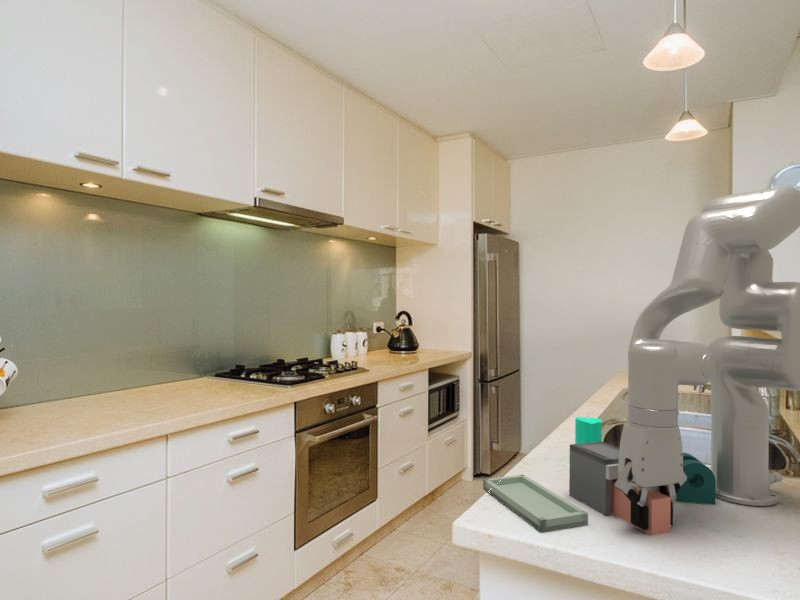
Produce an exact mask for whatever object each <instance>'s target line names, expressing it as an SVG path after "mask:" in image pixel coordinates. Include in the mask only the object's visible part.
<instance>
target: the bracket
mask: <svg viewBox="0 0 800 600" xmlns="http://www.w3.org/2000/svg"><path fill="white" fill-rule="evenodd" d="M683 471H684V473H685V474H686V476H687V480H686V481H685V482H684V483H683V484H682V486H680V489H679V491H678V492H677V494H676V500H675V501H674V502H675V503H688V504H690V503H691V504H700V505H701V504H703V505H716V502H717V501H716V498H717V497H716V480H715V476H714V474H713V472H712V471H711V468H709V467H708V466H707V465H706V464H704V463H703V462H701V461H700V460H699V459H698V458H696V456H694V455H692V454H690V453H687V452H683ZM664 487H665V486H664ZM651 489H653V490H655V491H657V487H651ZM657 492H658V491H657ZM674 502H673V503H674Z"/></svg>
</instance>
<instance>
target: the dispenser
mask: <svg viewBox="0 0 800 600" xmlns="http://www.w3.org/2000/svg"><path fill="white" fill-rule="evenodd" d="M619 449H620V447H617V446H614V445H612V444H610V443H607V442H604V441H601V442H591V443H581V444H575V443H574V444H573V443H572V444H569V481H568V482H569V491H568V492H569V496H571V497H572V498H573V499H576V500H577V501H579V502H581V503H582V504H584V505H586V506H587V507H589V508H591V509H592V510H594V511H596V512H598V513H600V514H601V515H603V516H605V517H607V516H612V515H613V514H612V479H618V478H619V476H618V462H619Z"/></svg>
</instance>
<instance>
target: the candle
mask: <svg viewBox="0 0 800 600" xmlns="http://www.w3.org/2000/svg"><path fill="white" fill-rule="evenodd" d="M574 421H575V424H574V425H575V428H574V429H575V431H574V432H575V433H574V434H575V437H574V438H575V440H574V442H575V443H574V444H581V443H591V442H601V441H602V438H603V437H602V436H603V435H602V434H603V431H602V429H603V428H602V427H603V423H602V422H603V421H602V419H601V418H598V417H597V418H596V417H590V412H588V413H587V417H583V416H582V417H581V416H575V420H574ZM602 442H603V441H602Z"/></svg>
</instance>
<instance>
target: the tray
mask: <svg viewBox="0 0 800 600" xmlns="http://www.w3.org/2000/svg"><path fill="white" fill-rule="evenodd" d="M502 478H503V479H502ZM482 480H483V481H482V484H483V485H482V489H483V490H484V491H485V492H486V493H487V494H489V495H491V496H492V497H493V498H494V499H496V500H497V501H499V502H500V503H501V504H502V505H504V506H505V507H506V508H508V509H509V510H510V511H512V512H513V513H514V514H516V515H518V517H520V518H521V519H523V520H524V521H525V522H526V523H528V524H529V525H530V526H532V527H533V528H534V529H536V530H537V531H538V532H539V533H542V534H543V533H547V532H552V531H558V530H565V529H570V528H577V527H582V526H588V525H589V512H588V511H585V510H584V509H582V508H580V507H578V506H577V505H575V504H574V503H572V502H570V501H569V500H567V499H565V498H564V497H562V496H560V495H558V494H557V493H556V492H554V491H552V490H550V489H549V488H546V487H545V486H543V485H542V484H540V483H539V482H536V481H535V480H534V479H531V478H530V477H529V476H527V475H524V474H518V475H517V474H516V475H508V476H500V477H493V478H483V479H482ZM500 480H501V481H500ZM499 481H500V482H499ZM497 483H498V484H497ZM491 488H492V489H491ZM490 489H491V490H490ZM489 490H490V491H489ZM488 491H489V492H490V493H489V492H488Z"/></svg>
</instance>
